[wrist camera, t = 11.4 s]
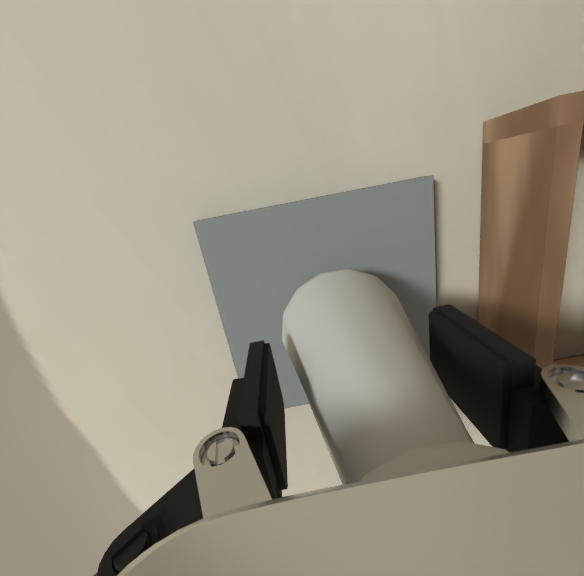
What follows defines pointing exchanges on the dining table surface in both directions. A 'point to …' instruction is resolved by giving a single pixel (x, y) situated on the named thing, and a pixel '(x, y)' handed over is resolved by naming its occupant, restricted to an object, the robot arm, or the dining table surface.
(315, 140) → the dining table surface
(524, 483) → the robot arm
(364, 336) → the salt shaker
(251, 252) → the mat
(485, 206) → the bin
